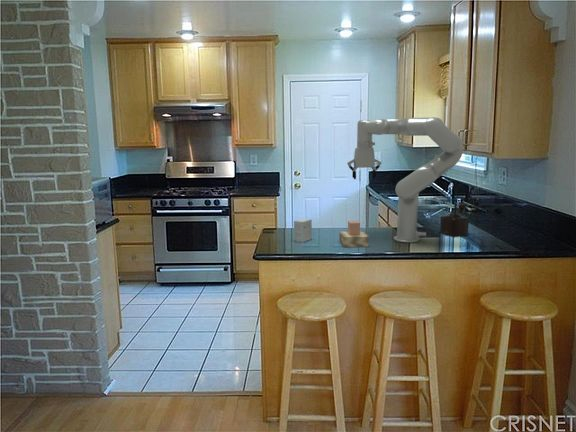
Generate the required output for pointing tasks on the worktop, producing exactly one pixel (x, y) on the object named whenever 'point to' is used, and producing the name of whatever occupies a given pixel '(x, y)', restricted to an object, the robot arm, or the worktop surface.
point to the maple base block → (354, 239)
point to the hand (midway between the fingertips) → (364, 178)
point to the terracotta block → (353, 227)
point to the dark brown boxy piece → (455, 223)
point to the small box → (302, 230)
